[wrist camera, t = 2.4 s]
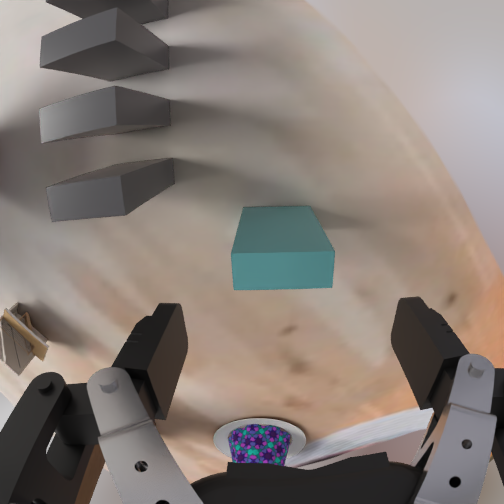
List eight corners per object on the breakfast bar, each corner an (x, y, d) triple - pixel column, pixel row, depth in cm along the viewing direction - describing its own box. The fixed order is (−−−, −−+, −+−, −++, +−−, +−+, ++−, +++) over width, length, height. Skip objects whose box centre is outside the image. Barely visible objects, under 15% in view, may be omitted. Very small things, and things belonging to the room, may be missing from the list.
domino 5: (309, 231, 24) (332, 287, 15) (244, 232, 24) (233, 290, 16) (309, 205, 23) (334, 251, 15) (243, 207, 23) (231, 253, 15)
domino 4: (174, 183, 23) (125, 215, 14) (117, 188, 23) (52, 221, 15) (172, 157, 22) (120, 175, 14) (114, 164, 22) (45, 187, 14)
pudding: (299, 406, 32) (302, 443, 27) (310, 453, 36) (312, 483, 31) (200, 417, 33) (194, 451, 28) (229, 461, 38) (226, 490, 33)
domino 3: (170, 125, 21) (116, 125, 13) (112, 134, 21) (41, 143, 13) (169, 99, 20) (115, 85, 12) (110, 110, 20) (39, 108, 12)
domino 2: (168, 69, 19) (115, 39, 11) (110, 81, 19) (39, 67, 11) (168, 45, 18) (117, 7, 10) (110, 59, 19) (41, 36, 10)
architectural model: (21, 292, 28) (-16, 326, 21) (63, 329, 30) (30, 369, 23) (17, 309, 29) (-17, 342, 22) (56, 344, 31) (27, 383, 24)
